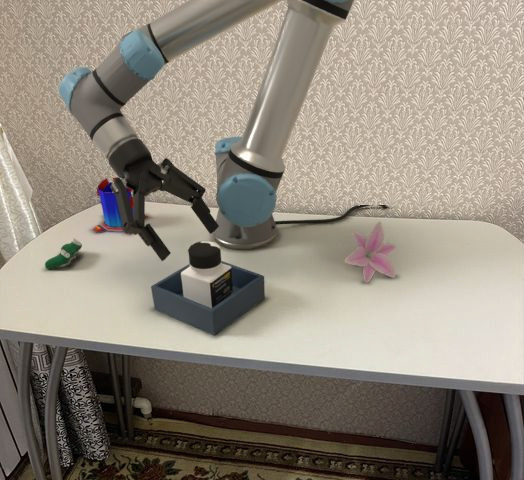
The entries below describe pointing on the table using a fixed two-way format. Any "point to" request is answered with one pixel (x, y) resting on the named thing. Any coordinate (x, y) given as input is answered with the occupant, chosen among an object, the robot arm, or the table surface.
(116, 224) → the fantasy tower
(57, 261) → the gaming controller
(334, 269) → the table surface
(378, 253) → the lily
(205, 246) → the medicine bottle
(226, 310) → the tote
